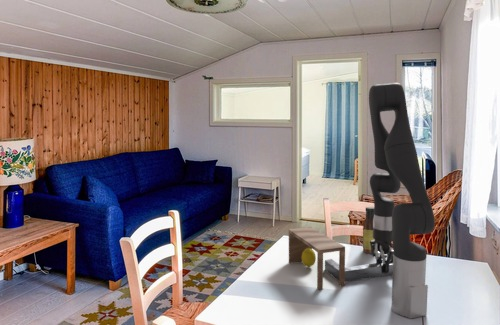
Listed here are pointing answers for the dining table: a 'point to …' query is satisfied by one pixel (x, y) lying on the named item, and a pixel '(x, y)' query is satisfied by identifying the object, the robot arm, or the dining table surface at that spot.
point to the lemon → (308, 257)
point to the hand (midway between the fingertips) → (382, 270)
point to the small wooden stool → (320, 244)
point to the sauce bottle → (368, 230)
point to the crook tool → (357, 270)
